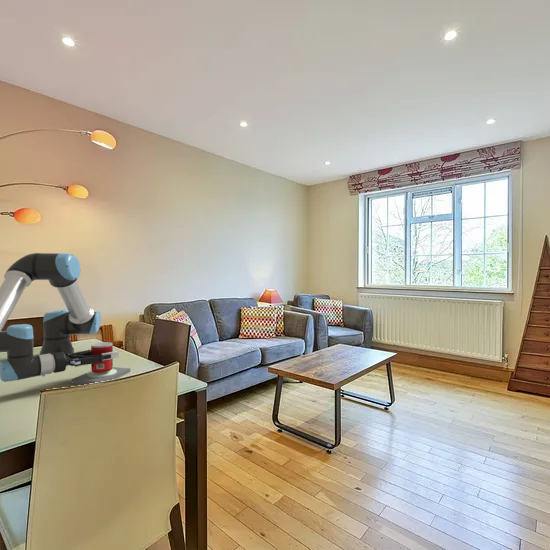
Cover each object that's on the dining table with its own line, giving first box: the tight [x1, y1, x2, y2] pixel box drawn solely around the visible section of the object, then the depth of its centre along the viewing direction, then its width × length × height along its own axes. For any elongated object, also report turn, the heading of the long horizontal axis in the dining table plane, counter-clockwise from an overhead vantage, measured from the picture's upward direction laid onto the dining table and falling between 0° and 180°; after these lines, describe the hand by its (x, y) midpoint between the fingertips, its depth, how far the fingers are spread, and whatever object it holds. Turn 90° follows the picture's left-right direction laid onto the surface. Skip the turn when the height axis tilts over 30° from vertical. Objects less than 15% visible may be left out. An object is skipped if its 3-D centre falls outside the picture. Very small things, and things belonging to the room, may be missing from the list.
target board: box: [70, 366, 131, 385], centre depth 142 cm, size 18×14×2 cm
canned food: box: [90, 341, 114, 373], centre depth 142 cm, size 8×8×11 cm
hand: (114, 352), depth 145 cm, fingers closed on canned food, 8 cm apart
